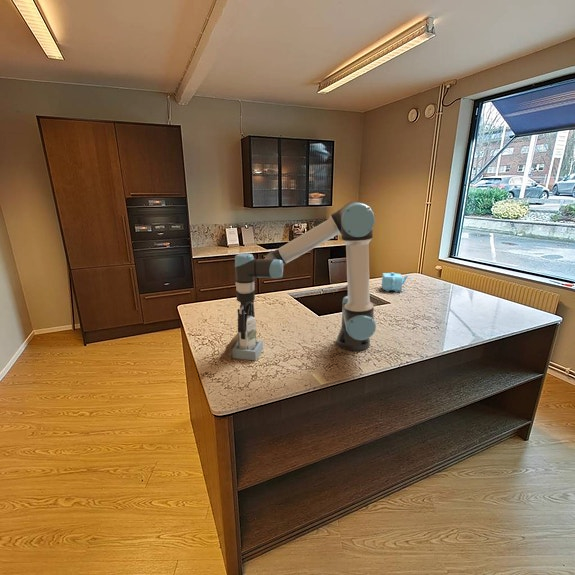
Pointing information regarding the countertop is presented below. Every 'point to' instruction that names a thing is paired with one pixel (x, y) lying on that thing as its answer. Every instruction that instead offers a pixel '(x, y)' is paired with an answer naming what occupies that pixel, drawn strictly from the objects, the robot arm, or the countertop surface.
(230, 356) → the base
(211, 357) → the countertop surface
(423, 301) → the countertop surface
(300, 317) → the countertop surface
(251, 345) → the syrup box
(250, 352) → the blue gray square tray
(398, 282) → the teapot
